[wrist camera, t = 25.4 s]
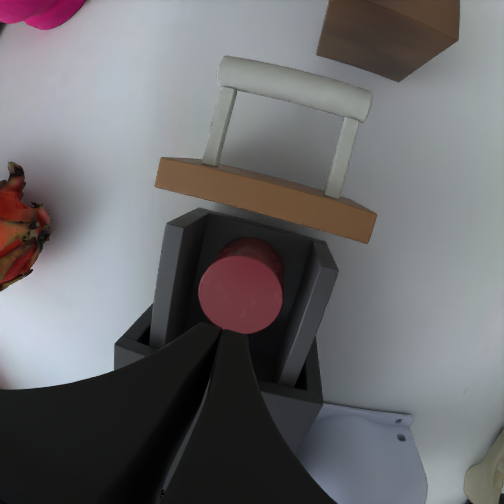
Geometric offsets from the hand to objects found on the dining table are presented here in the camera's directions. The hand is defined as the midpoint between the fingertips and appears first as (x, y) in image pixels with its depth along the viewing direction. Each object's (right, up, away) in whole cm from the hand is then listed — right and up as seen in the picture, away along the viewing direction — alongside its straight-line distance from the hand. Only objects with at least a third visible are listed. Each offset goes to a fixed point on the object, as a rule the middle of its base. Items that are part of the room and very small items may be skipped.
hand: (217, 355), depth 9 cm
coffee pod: (+1, +2, +8) cm, 8 cm away
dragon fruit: (-17, +6, +11) cm, 21 cm away
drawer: (+2, +4, +8) cm, 9 cm away
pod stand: (+8, +16, +5) cm, 18 cm away
